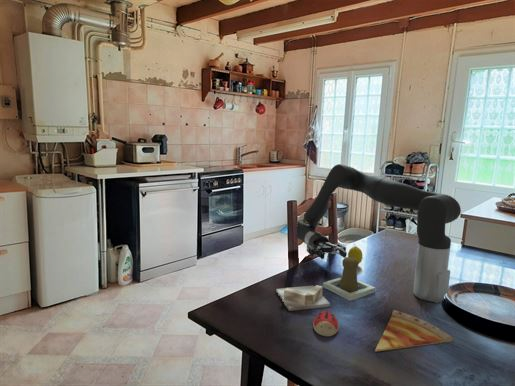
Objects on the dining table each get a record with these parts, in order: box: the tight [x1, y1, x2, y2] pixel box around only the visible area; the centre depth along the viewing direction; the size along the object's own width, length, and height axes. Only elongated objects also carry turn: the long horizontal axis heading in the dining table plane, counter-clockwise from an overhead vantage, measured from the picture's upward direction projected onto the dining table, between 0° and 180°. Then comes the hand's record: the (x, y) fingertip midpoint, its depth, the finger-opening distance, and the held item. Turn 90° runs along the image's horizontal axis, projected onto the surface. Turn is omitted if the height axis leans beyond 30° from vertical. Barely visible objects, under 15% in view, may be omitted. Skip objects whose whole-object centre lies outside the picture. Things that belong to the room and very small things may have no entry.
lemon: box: [347, 245, 363, 265], centre depth 142 cm, size 6×6×8 cm
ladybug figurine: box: [312, 310, 339, 337], centre depth 97 cm, size 7×10×4 cm
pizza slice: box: [374, 309, 453, 352], centre depth 97 cm, size 16×22×2 cm
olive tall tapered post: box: [339, 256, 359, 293], centre depth 120 cm, size 6×6×11 cm
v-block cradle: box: [275, 284, 331, 312], centre depth 113 cm, size 13×13×4 cm
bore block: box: [322, 276, 376, 302], centre depth 121 cm, size 12×12×2 cm
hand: (334, 255), depth 131 cm, fingers open, 8 cm apart
